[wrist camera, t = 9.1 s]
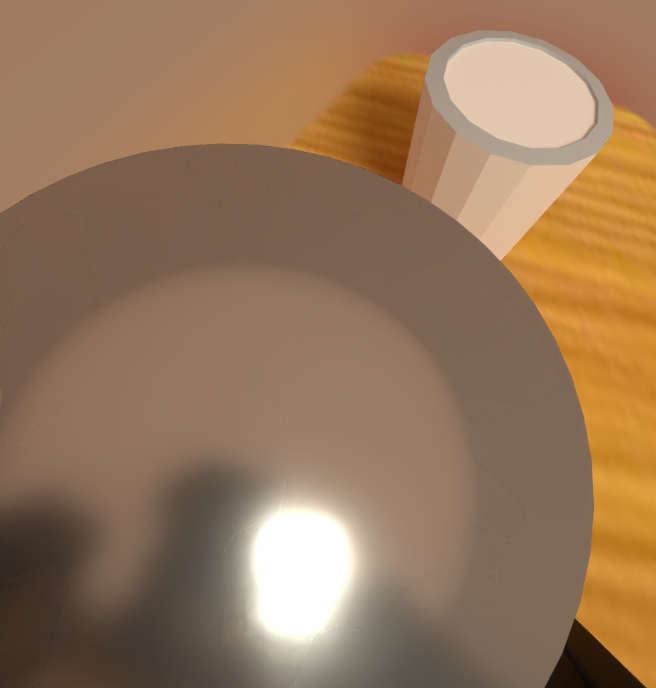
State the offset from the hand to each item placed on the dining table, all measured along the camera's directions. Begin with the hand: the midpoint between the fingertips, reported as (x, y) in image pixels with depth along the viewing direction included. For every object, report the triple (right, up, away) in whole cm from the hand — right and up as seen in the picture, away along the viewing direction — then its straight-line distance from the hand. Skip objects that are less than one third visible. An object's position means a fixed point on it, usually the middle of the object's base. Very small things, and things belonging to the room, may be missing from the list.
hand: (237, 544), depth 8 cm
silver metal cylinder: (-1, -4, +9) cm, 9 cm away
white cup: (+7, +9, +17) cm, 20 cm away
